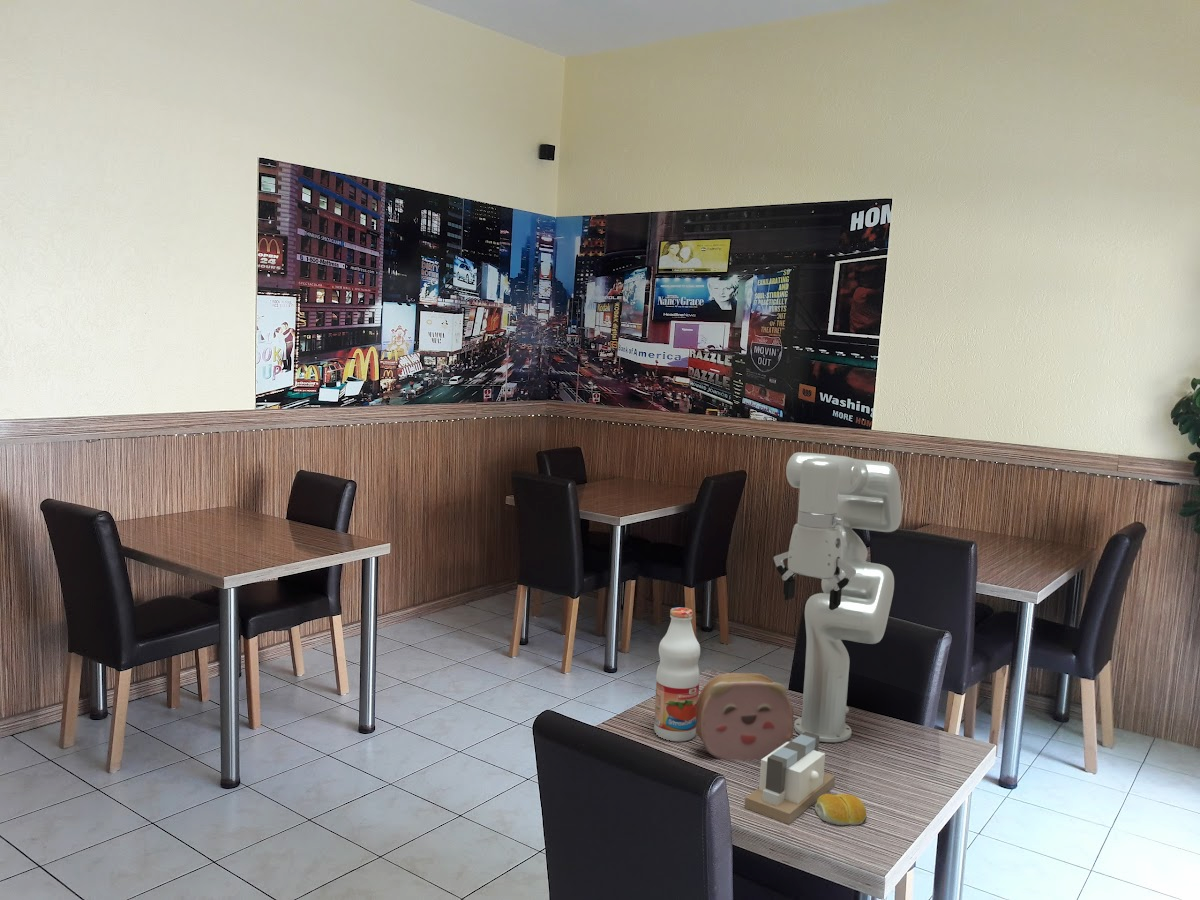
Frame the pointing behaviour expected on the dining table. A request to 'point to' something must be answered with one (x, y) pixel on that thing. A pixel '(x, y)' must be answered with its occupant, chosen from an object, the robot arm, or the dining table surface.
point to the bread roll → (840, 809)
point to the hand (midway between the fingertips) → (811, 603)
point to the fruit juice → (677, 679)
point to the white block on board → (792, 788)
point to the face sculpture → (743, 716)
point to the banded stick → (788, 759)
